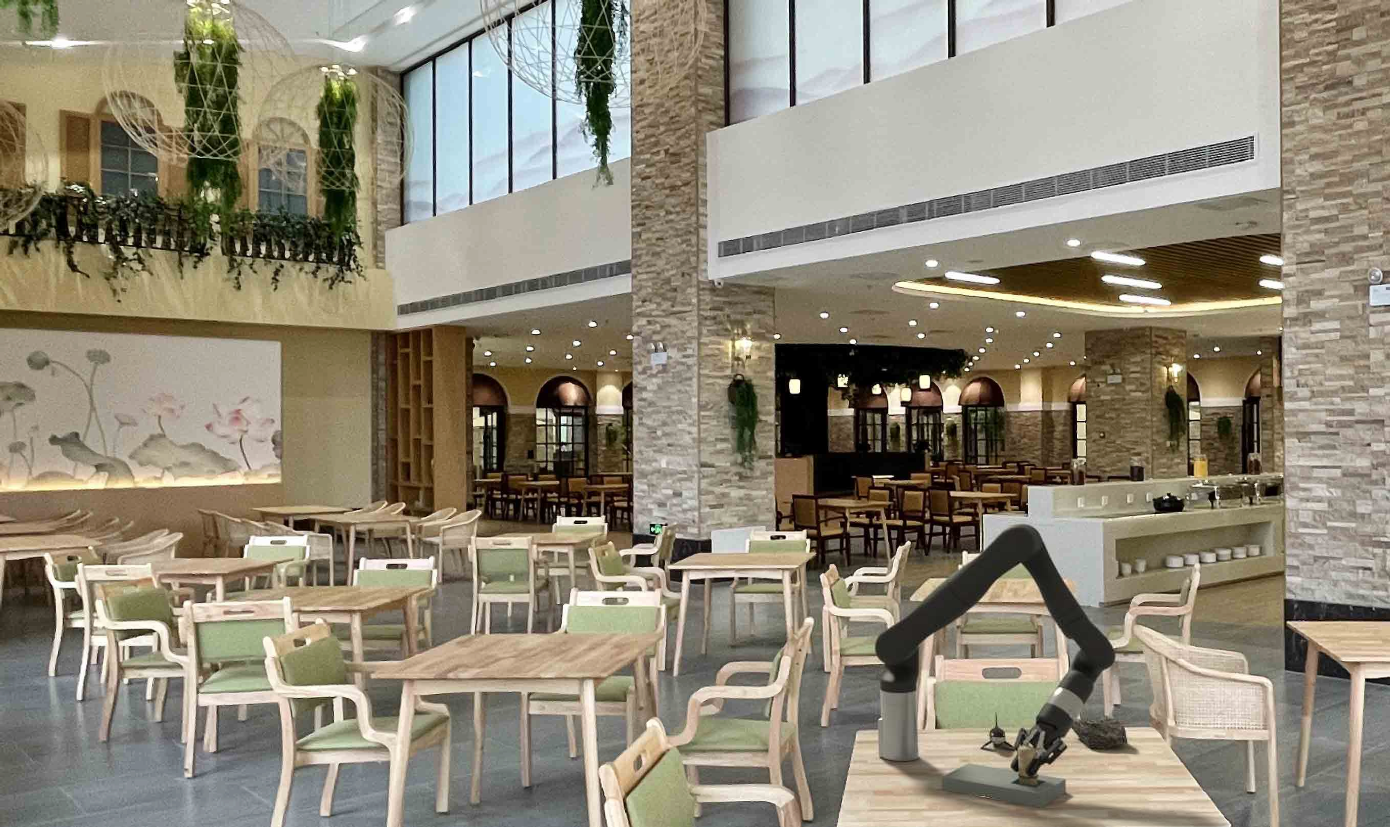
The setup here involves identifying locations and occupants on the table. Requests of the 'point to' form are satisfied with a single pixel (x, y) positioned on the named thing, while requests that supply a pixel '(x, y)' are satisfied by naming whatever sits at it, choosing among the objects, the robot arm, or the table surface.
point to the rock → (1100, 732)
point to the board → (1003, 785)
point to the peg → (1024, 760)
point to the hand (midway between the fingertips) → (1021, 772)
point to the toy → (997, 736)
